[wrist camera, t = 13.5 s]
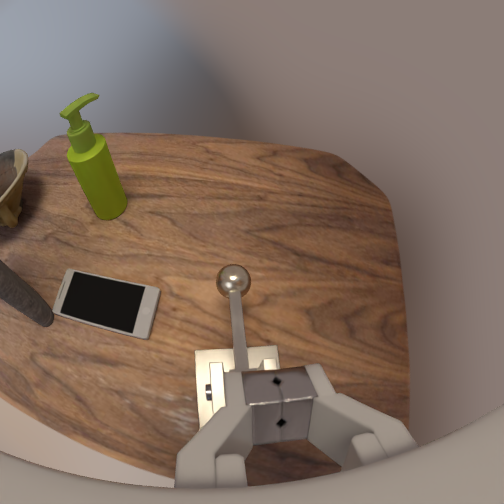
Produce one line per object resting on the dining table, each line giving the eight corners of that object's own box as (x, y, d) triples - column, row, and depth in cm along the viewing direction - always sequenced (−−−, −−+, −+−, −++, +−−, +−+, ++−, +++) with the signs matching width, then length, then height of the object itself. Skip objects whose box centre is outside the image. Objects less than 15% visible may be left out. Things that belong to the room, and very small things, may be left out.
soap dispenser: (138, 196, 47) (107, 94, 30) (109, 226, 44) (63, 126, 27) (116, 183, 48) (83, 87, 31) (88, 210, 45) (42, 116, 28)
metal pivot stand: (195, 351, 36) (175, 315, 23) (275, 346, 37) (301, 307, 24) (202, 445, 30) (183, 467, 17) (286, 439, 31) (321, 455, 18)
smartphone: (148, 340, 36) (146, 338, 35) (54, 314, 36) (51, 311, 35) (161, 290, 39) (160, 287, 38) (69, 270, 40) (67, 267, 39)
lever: (216, 282, 33) (214, 257, 31) (248, 280, 34) (249, 255, 31) (223, 414, 22) (221, 399, 20) (267, 411, 22) (271, 395, 20)
